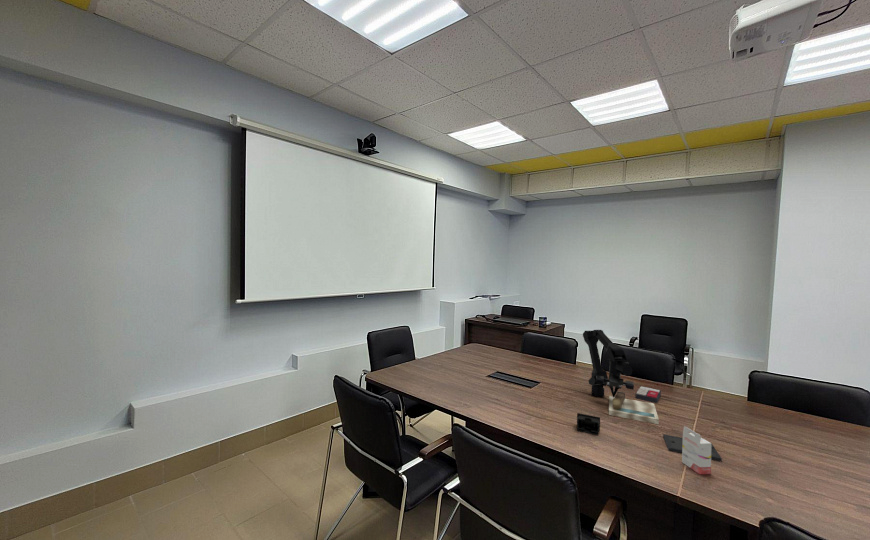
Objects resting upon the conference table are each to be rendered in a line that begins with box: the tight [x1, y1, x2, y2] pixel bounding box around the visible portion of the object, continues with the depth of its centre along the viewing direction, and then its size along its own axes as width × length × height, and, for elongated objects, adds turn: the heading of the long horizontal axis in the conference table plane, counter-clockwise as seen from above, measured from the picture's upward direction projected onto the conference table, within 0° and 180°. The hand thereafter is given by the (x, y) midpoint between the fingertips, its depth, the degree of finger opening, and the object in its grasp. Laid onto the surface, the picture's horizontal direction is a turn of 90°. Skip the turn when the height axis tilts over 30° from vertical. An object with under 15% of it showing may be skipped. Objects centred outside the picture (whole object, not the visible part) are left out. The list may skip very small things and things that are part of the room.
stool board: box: [608, 395, 660, 425], centre depth 184 cm, size 22×23×3 cm
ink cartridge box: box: [681, 425, 713, 475], centre depth 132 cm, size 9×5×15 cm, turn 5°
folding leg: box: [613, 390, 626, 410], centre depth 187 cm, size 19×4×5 cm, turn 144°
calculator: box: [634, 386, 662, 404], centre depth 205 cm, size 11×4×15 cm
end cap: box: [576, 412, 601, 436], centre depth 162 cm, size 10×7×7 cm
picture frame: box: [662, 433, 723, 463], centre depth 147 cm, size 13×2×18 cm
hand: (613, 397), depth 191 cm, fingers closed
